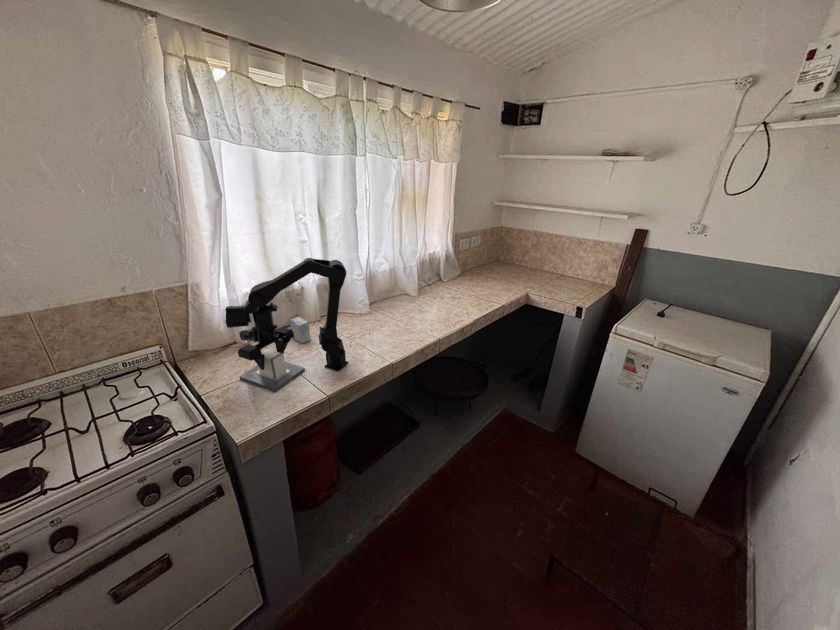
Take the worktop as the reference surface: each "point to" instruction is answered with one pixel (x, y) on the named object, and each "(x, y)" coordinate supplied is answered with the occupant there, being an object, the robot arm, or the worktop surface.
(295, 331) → the medicine box
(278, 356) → the light grey block
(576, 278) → the worktop surface
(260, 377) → the duct plate
